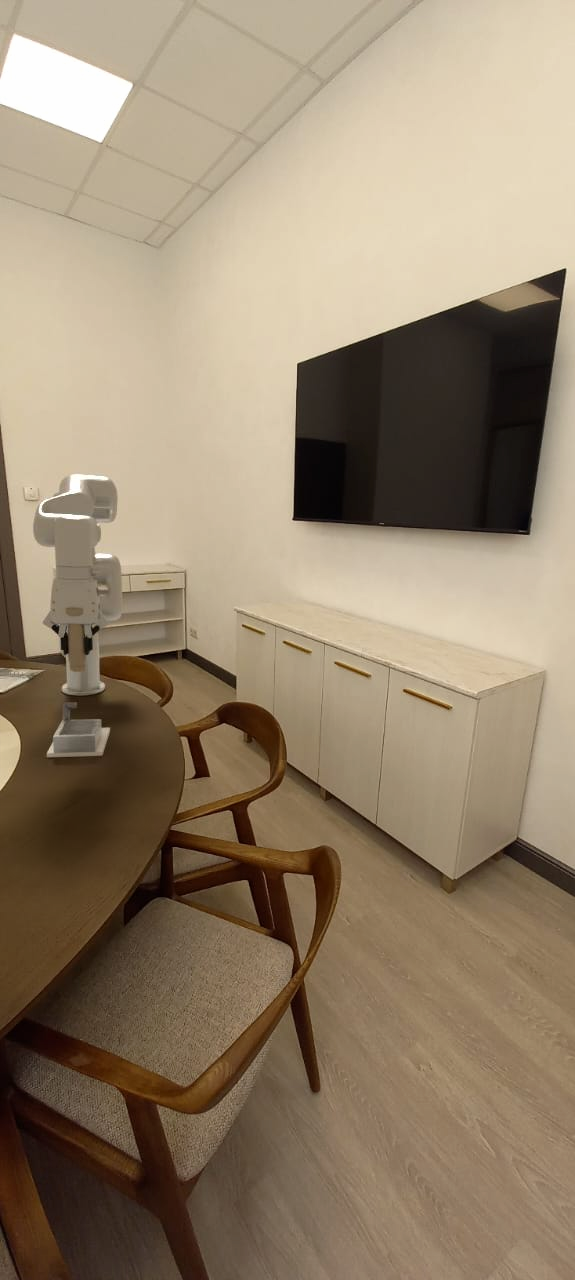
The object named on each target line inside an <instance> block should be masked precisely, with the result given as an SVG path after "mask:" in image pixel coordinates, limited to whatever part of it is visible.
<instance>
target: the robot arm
mask: <svg viewBox="0 0 575 1280" xmlns="http://www.w3.org/2000/svg"><path fill="white" fill-rule="evenodd" d="M59 484H60V485H59V488H58V489H59V490H58V491H57V492H55V493H54V494H53V496H52V497H51V498H48V499H45V500H44V501H42V502H40V503H39V504H38V506H37V507H36V510H35V514H34V517H33V521H32V522H33V524H32V528H33V529H32V531H33V532H32V533H33V537H34V540H35V541H36V542H37V544H38V545H39V546H43V547H45V548H54V555H55V557H54V559H55V578H53V580H52V584H51V585H52V586H51V593H50V606H49V607H50V610H49V612H48V613H47V614H46V617H44V620H43V621H42V624H43V625H44V626H46V627H47V628H49V629H51V630H52V631H53V632H54V633H55V634H56V635H57V636H58V637H59V638H60V650H61V651H62V652H63V655H64V656H65V662H66V665H65V666H66V683H64V684H62V686H61V692H63V694H66V695H70V696H89V695H90V696H91V695H96V694H98V693H101V692H103V691H105V689H106V684H105V683H104V682H102V681H101V680H100V679H101V678H100V677H101V676H100V645H99V644H100V642H99V641H100V640H99V633H98V632H99V631H100V630H102V629H104V628H105V627H106V626H108V625H109V621H117V620H119V619H121V617H122V614H123V586H122V585H123V581H122V578H123V577H122V567H121V566H122V565H121V561H120V559H119V557H117V556H116V555H115V554H113V553H112V554H111V553H96V548H95V547H96V546H97V545H98V543H99V542H101V538H102V529H101V525H100V524H101V523H103V524H104V523H105V524H106V523H112V522H114V521H115V519H116V517H117V515H118V513H117V512H118V499H119V498H118V489H117V487H116V484H115V483H114V481H113V480H112V479H111V478H109V477H106V476H99V475H97V476H96V475H86V474H71V475H69V474H68V475H67V476H64V477H63V478H62V480H61V481H60V483H59ZM99 586H104V587H105V588H106V589H99ZM66 608H71V609H83V614H82V615H80V616H76V617H73V616H69V615H67V614H66ZM68 624H78V625H84V630H85V639H84V642H85V654H86V661H85V663H84V664H85V665H86V666H85V670H83V671H81V672H73V671H71V670H70V665H71V664H70V663H69V657H68ZM93 625H94V626H93Z"/></svg>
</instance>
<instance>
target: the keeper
mask: <svg viewBox="0 0 575 1280" xmlns="http://www.w3.org/2000/svg"><path fill="white" fill-rule="evenodd" d="M77 708H78V703H77V702H75V701H74V702H64V703H63V704H62V720H61V722H60V723H59V725H58V727H57V729H56V731H55V732H54V734H53V736H52V743H51V745H50V747H49V749H47V752H46V758H66V757H67V758H68V757H69V758H71V757H72V758H73V757H98V756H99V757H100V756H102V757H103V755H104V751H105V749H106V746H107V742H108V739H109V736H110V732H111V727H103V725H102V719H101V718H97V719H96V718H93V719H87V718H85V719H71V709H77Z"/></svg>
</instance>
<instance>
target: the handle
mask: <svg viewBox="0 0 575 1280" xmlns="http://www.w3.org/2000/svg"><path fill="white" fill-rule="evenodd" d="M66 614H67V615H69V616H73V617H76V616H80V615H82V614H83V609H71V608H66ZM84 639H85V630H84V625H78V624H68V657H69V663H70V664H71V665H70V670H71V671H73V672H81V671H83V670H85V666H86V665H85V664H84V663H85V661H86V654H85V642H84Z"/></svg>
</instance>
